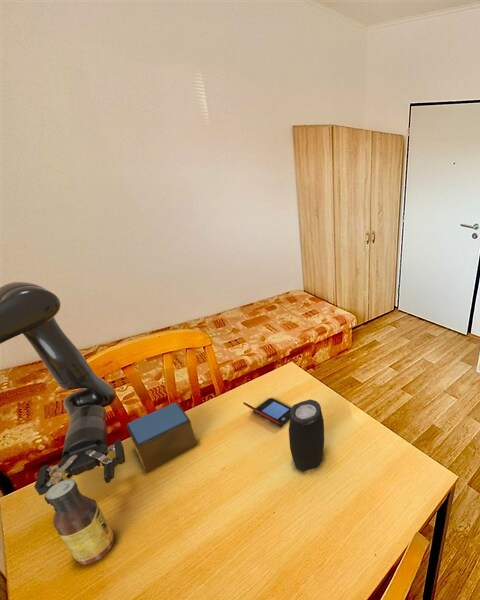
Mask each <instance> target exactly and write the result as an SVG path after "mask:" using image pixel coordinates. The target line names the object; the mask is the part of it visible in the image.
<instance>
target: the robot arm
mask: <svg viewBox="0 0 480 600" xmlns="http://www.w3.org/2000/svg"><path fill="white" fill-rule="evenodd" d="M60 309H61V300H60V298H59V297H58V295H56V293H54V292H52V291H51V290H49V289H46V288H44V287H43V286H41V285H38V284H37V283H36V284H35V283H32V282H28V281H14V282H9V283H5V284H4V285H2V286H0V345H1V344H3V343H5V342H7V341H9V340H12V339H13V338H16V337H17V336H20V335H23V336H24V338H25V339H26V340H27V341H28V342H29V344H30V345H31V347H32V348H33V349H34V350H35V352H36V354H37V355H38V357H39V358H40V360H41V362H42V363H43V364H44V366H45V368H46V369H47V371H48V372H49V374H50V375H51V376H52V378H53V379H54V381H55V382H56V383H57V385H58V387H60V389H62V390H64V391H73V390H77V391H74V392H71V393H69V394H68V395H67V396H66V397H65V398H64V400H63V403H62V405H63V407H64V410H65V412H66V414H67V416H68V419H69V423H68V427H67V428H68V429H67V431H66V433H65V438H64V443H63V449H62V455H61V460H60V461H59V462H58V464H55V465H52V466H49V465H48V464H46V465H43V466H41V467H40V468H39V471H38V474H37V477H36V481H35V484H34V486H33V487H34V489H35V490H36V492H37V494H38V496H43V495H44V501H45V502H46V504H47V505H50V506H52V507H53V505H52V504H51V503H49V502H48V500H47V499H46V493H47V491H48V490H49V489H50V488H51V487H52V486H54V485H55V484H57V483H58V482H61V481H64V480H67V479H73V478H74V477H76V476H80V475H81V474H83V473H86V472H89V471H92V470H94V469H95V468H98V469H102V470H103V479H104V482H105V484H109V483H111V482H112V479H114V478H115V472H116V471H115V468H116V467H117V466H119V465H124V463H125V462H126V455H125V447H124V444H123V443H122V440H121V439H117V440H115V441H114V442H113V443H114V444H110V445H108V446H107V442H108V425H107V410H106V408H107V407H109V406H110V405H112V404H114V402H115V401H116V398H117V392H116V389H115V388H114V387H113V386H112V385H111V384H110V383H108V382H107V381H106V380H105V379H103V378H102V377H100V376H99V375H98V374H97V373H95V371H94V370H93V369H92V368H91V366H90V365H89V363H88V361H87V359H86V358H85V357H84V355H83V354H82V352H81V351H80V350H79V348H78V347H77V346H76V345H75V344H74V343H73V342H72V340H71V339H70V338H69V337H68V335H66V333H65V332H64V331H63V329H62V328H61V326H60V325H59V324H58V322H57V320H56V319H55V317H56V316H57V315H58V313H59V312H60ZM110 452H111V453H113V454H114V455H115V457H113V458H111V457H108V455H109V453H110Z"/></svg>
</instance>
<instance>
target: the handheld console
mask: <svg viewBox="0 0 480 600" xmlns="http://www.w3.org/2000/svg"><path fill="white" fill-rule="evenodd" d="M242 404H243V405H244V406H246V407H247V408H249V409H251V410H252V411H253V414H256V415H257V416H259V417H261V418H263V419H267V420H268V421H269V422H270V423H272V424H274V425H276V426H277V427H278V428H282V427H283V426H284V425H285V424H287V423H288V421H289V422H290V416H291V413H290V411H291V408H292V407H291V406H289V405H286V404H284V403H282V402H281V401H279V400H276V399H275V398H273V397H270V398H268V399H266V400H265V401H264V402H262V403H261V404H260V405H258V406H257V407H254V406H252V405H250V404H249V403H246V402H245V401H244V402H242Z"/></svg>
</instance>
